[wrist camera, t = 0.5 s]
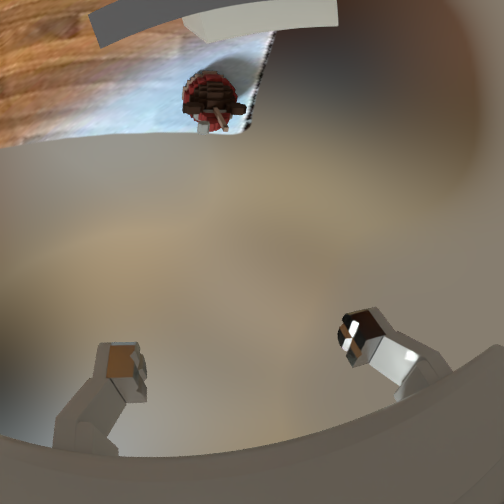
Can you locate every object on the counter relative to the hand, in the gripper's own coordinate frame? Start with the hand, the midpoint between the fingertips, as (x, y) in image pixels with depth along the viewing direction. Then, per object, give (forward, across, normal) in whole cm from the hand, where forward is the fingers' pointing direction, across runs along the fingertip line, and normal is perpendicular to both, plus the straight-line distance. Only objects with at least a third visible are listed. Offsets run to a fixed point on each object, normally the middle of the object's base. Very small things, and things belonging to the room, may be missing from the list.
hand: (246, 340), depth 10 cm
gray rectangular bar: (+19, -1, -19) cm, 27 cm away
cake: (+51, -2, -9) cm, 52 cm away
